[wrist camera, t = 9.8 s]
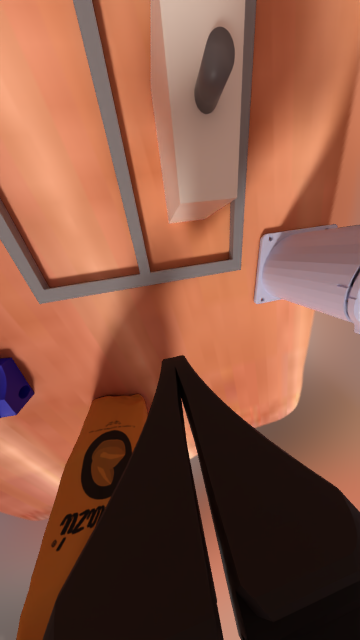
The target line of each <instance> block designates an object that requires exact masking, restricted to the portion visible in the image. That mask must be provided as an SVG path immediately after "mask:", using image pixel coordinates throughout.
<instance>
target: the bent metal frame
mask: <svg viewBox="0 0 360 640" xmlns="http://www.w3.org/2000/svg"><path fill="white" fill-rule="evenodd" d="M73 3H74V7H75V11H76V15H77V19H78V23H79V27H80V31H81V35H82V39H83V43H84V47H85V51H86V55H87V59H88V64H89V68H90V72H91V76H92V80H93V84H94V88H95V92H96V96H97V100H98V104H99V108H100V112H101V116H102V120H103V124H104V129H105V133H106V137H107V141H108V145H109V149H110V153H111V157H112V161H113V165H114V169H115V173H116V177H117V181H118V185H119V189H120V193H121V198H122V202H123V206H124V210H125V214H126V218H127V222H128V226H129V230H130V234H131V238H132V242H133V246H134V250H135V254H136V258H137V263H138V267H139V271H140V274H135V275H128V276H122V277H116V278H109V279H103V280H97V281H91V282H84V283H78V284H72V285H66V286H59V287H53V288H49V287H48V285H47V283H46V281H45V279H44V277H43V276H42V274H41V272H40V270H39V268H38V266H37V265H36V263H35V261H34V259H33V257H32V255H31V254H30V252H29V250H28V248H27V246H26V244H25V243H24V241H23V239H22V237H21V235H20V233H19V232H18V230H17V228H16V226H15V224H14V222H13V221H12V219H11V217H10V215H9V213H8V211H7V210H6V208H5V206H4V204H3V202H2V200H1V199H0V240H1V241H2V243H3V244H4V246H5V248H6V249H7V251H8V253H9V254H10V256H11V258H12V259H13V261H14V263H15V264H16V266H17V268H18V269H19V271H20V272H21V274H22V276H23V277H24V279H25V281H26V282H27V284H28V286H29V287H30V289H31V291H32V292H33V294H34V296H35V297H36V299H37V300H38V302H39V304H42V303H48V302H54V301H60V300H66V299H71V298H77V297H83V296H89V295H95V294H101V293H107V292H113V291H118V290H124V289H130V288H136V287H142V286H148V285H154V284H160V283H165V282H171V281H177V280H183V279H189V278H195V277H201V276H207V275H212V274H218V273H224V272H230V271H236V270H241V257H242V240H243V223H244V206H245V189H246V171H247V154H248V137H249V120H250V103H251V86H252V68H253V51H254V34H255V17H256V0H245V20H244V45H243V69H242V93H241V117H240V141H239V165H238V189H237V198H236V199H235V200H233V201H232V202H231V206H230V249H229V259H228V260H222V261H216V262H210V263H203V264H197V265H191V266H185V267H178V268H172V269H166V270H160V271H153V272H150V268H149V263H148V259H147V254H146V249H145V245H144V240H143V235H142V231H141V226H140V221H139V217H138V212H137V207H136V203H135V198H134V193H133V189H132V184H131V179H130V175H129V170H128V165H127V161H126V156H125V151H124V147H123V142H122V137H121V133H120V128H119V123H118V119H117V114H116V109H115V105H114V100H113V95H112V91H111V86H110V82H109V77H108V72H107V68H106V63H105V58H104V54H103V49H102V44H101V40H100V35H99V30H98V26H97V21H96V16H95V12H94V7H93V2H92V0H73Z"/></svg>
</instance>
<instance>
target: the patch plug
mask: <svg viewBox="0 0 360 640" xmlns="http://www.w3.org/2000/svg"><path fill="white" fill-rule="evenodd" d="M244 20H245V0H151V95H152V103H153V110H154V117H155V125H156V132H157V140H158V147H159V154H160V162H161V169H162V177H163V184H164V191H165V199H166V206H167V214H168V221H169V223H177V222H186V221H194V220H203V219H206V218H207V217H209V216H210V215H212V214H213V213H215V212H216V211H218V210H219V209H221V208H222V207H224V206H225V205H227V204H229V203H230V202H232V201H233V200H235V199H236V198H237V189H238V165H239V141H240V117H241V93H242V69H243V45H244Z"/></svg>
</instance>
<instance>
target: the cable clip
mask: <svg viewBox="0 0 360 640" xmlns="http://www.w3.org/2000/svg"><path fill="white" fill-rule="evenodd" d="M33 395H34V392H33V390H32V389H31V387H30V385H29V384H28V382H27V381H26V379H25V378H24V376H23V375H22V373H21V371H20V370H19V368H18V367H17V365H16V364H15V362H14V360H13V359H12V357H11V358H1V359H0V418H1V417H7V416H13V415H17V414H18V413H19V411H20V410H21V409H22V408H23V407H24V405H25V404H26V403H27V402H28V401H29V399H30V398H31V397H32V396H33Z"/></svg>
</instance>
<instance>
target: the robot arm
mask: <svg viewBox="0 0 360 640" xmlns="http://www.w3.org/2000/svg"><path fill="white" fill-rule="evenodd" d="M269 237H270V241H269ZM261 299H262V300H261ZM280 299H284V300H287V301H290V302H293V303H295V304H298V305H301V306H304V307H307V308H310V309H313V310H316V311H319V312H322V313H325V314H328V315H331V316H334V317H337V318H340V319H343V320H346V321H349V322H352V323H354V325H355V328H354V332H355V333H358V334H360V225H355V226H347V227H340V228H337V225H336V224H332V225H325V226H318V227H311V228H304V229H297V230H290V231H283V232H276V233H269V234H264V235H263V236H262V237H261V240H260V249H259V258H258V267H257V277H256V286H255V295H254V302H255V303H256V304H260V303H265V302H270V301H275V300H280ZM181 398H182V400H181ZM182 402H183V405H184V408H185V411H186V415H187V418H188V421H189V424H190V428H191V431H192V434H193V438H194V441H195V445H196V449H197V453H198V458H199V462H200V466H201V471H202V475H203V479H204V484H205V488H206V492H207V496H208V501H209V506H210V510H211V514H212V519H213V523H214V527H215V532H216V537H217V541H218V545H219V550H220V554H221V559H222V563H223V568H224V572H225V577H226V581H227V585H228V590H229V594H230V599H231V603H232V607H233V611H234V616H235V621H236V625H237V629H238V633H239V636H240V638H241V640H360V512H359V511H358V510H357V509H356V508H355V506H354V505H353V504H352V503H351V502H350V501H349V500H348V499H347V498H346V497H345V495H343V493H342V492H341V491H340V490H339V489H338V488H337V487H335V486H334V485H333V484H331V483H330V482H328V481H327V480H325V479H324V478H322V477H321V476H319V475H318V474H316V473H315V472H313V471H312V470H310V469H309V468H307V467H306V466H304V465H303V464H302V463H300V462H299V461H297V460H296V459H295V458H293V457H292V456H290V455H289V454H288V453H286V452H285V451H283V450H282V449H281V448H279V447H278V446H277V445H275V444H274V443H273V442H271V441H270V440H269V439H267V438H266V437H265V436H263V435H262V434H261V433H260V432H258V431H257V430H256V429H255V428H253V427H252V426H251V425H250V424H248V423H247V422H246V421H245V420H243V419H242V418H241V417H240V416H239V415H238V414H236V413H235V412H234V411H233V410H232V409H231V408H230V407H228V406H227V405H226V404H225V403H224V402H223V401H222V400H221V399H220V398H219V397H218V396H217V395H216V394H215V393H214V392H213V391H212V390H211V389H210V388H209V387H208V386H207V385H206V384H205V383H204V381H203V380H202V379H201V378H200V377H199V376H198V374H197V373H196V372H195V371H194V369H193V368H192V367H191V365H190V364H189V363H188V361H187V359H186V358H185V356H183V355H181V356H177V357H173V358H168V359H164V360H163V361H162V367H161V373H160V378H159V382H158V385H157V389H156V393H155V396H154V399H153V402H152V405H151V408H150V411H149V414H148V417H147V419H146V422H145V424H144V427H143V429H142V432H141V434H140V437H139V439H138V441H137V443H136V446H135V448H134V450H133V453H132V455H131V457H130V459H129V461H128V463H127V465H126V468H125V470H124V472H123V474H122V476H121V478H120V480H119V482H118V484H117V486H116V488H115V490H114V492H113V494H112V496H111V498H110V500H109V502H108V504H107V506H106V507H105V509H104V511H103V513H102V515H101V517H100V519H99V521H98V523H97V524H96V526H95V528H94V530H93V532H92V534H91V535H90V537H89V539H88V541H87V543H86V544H85V546H84V548H83V550H82V552H81V554H80V555H79V557H78V559H77V561H76V563H75V564H74V566H73V568H72V570H71V572H70V574H69V575H68V577H67V579H66V581H65V583H64V584H63V586H62V588H61V590H60V592H59V594H58V596H57V599H56V601H55V604H54V607H53V610H52V613H51V616H50V619H49V622H48V624H47V627H46V630H45V633H44V636H43V640H223V634H222V629H221V623H220V618H219V613H218V607H217V598H216V593H215V589H214V582H213V578H212V572H211V568H210V562H209V557H208V551H207V547H206V542H205V537H204V531H203V526H202V520H201V516H200V510H199V505H198V500H197V495H196V489H195V484H194V479H193V474H192V469H191V463H190V458H189V453H188V447H187V441H186V433H185V425H184V416H183V408H182Z"/></svg>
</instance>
